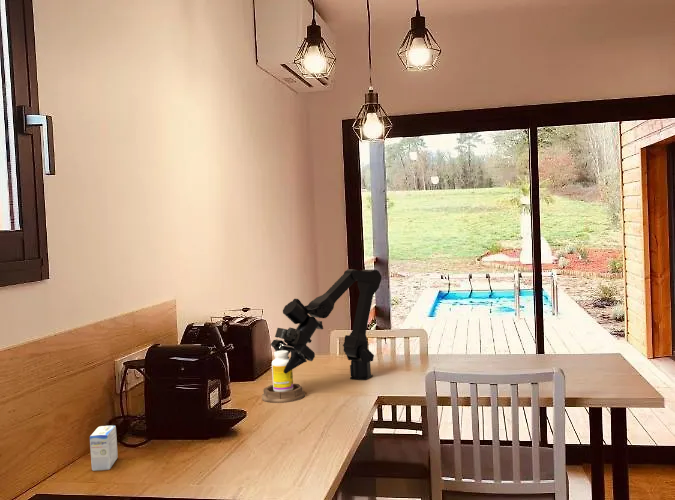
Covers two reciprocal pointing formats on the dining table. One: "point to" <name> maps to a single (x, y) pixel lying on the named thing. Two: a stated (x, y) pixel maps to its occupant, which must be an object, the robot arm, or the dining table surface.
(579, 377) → the dining table surface
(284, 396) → the cup stand
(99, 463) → the medicine box
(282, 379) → the supplement bottle
